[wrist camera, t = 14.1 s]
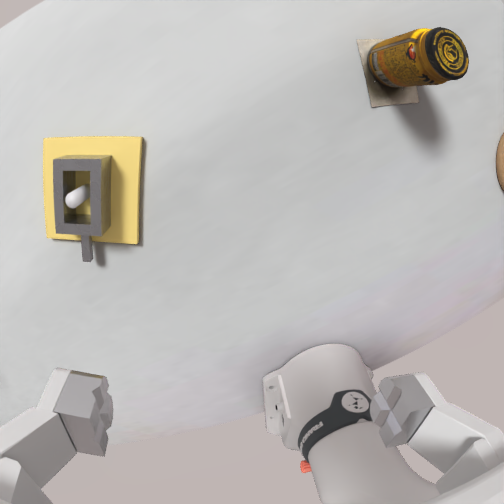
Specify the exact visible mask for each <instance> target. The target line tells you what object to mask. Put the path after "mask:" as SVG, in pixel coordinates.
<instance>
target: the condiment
mask: <svg viewBox="0 0 504 504" xmlns="http://www.w3.org/2000/svg"><path fill="white" fill-rule="evenodd" d="M357 43H358V48H359V52H360V56H361V61H362V65H363V69H364V73H365V77H366V81H367V87H368V92H369V96H370V100H371V106H372V107H376V106H385V105H396V104H408V103H419V99H418V93H417V86H422V85H438V84H443V83H445V82H446V81H449V80H457V79H460V78H462V77H463V76H464V75H465V74H466V72H467V69H468V63H469V59H468V53H467V50H466V47H465V45H464V44H463V42H462V40H461V39H460V37H459V36H458V35H457V34H455V33H454V32H453V31H451V30H449V29H446V28H441V27H438V28H434V29H427V28H426V29H425V28H422V29H416V30H413V31H411V32H408V33H405V34H402V35H399V36H395V37H393V38H390V39H358V40H357ZM374 81H375V82H374ZM402 87H403V90H402Z"/></svg>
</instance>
